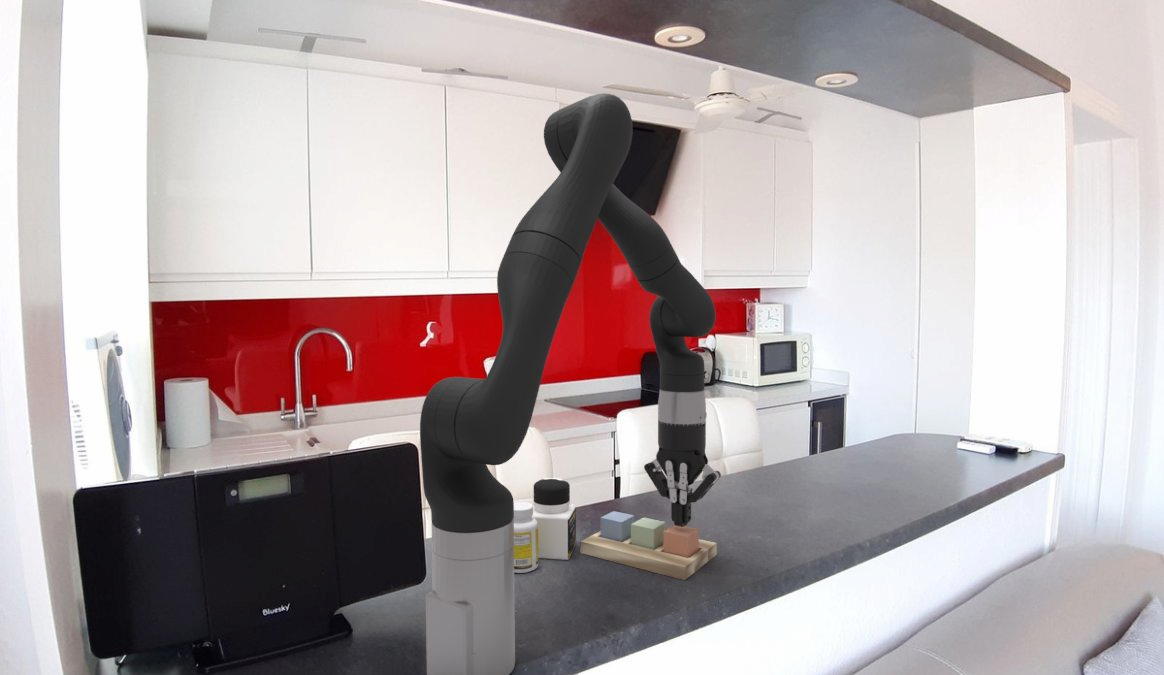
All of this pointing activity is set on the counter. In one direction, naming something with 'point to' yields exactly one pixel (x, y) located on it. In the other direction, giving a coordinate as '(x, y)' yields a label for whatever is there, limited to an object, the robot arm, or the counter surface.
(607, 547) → the board
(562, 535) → the medicine bottle
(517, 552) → the supplement bottle
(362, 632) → the counter surface
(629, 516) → the slate button
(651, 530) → the sage button
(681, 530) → the terracotta button
